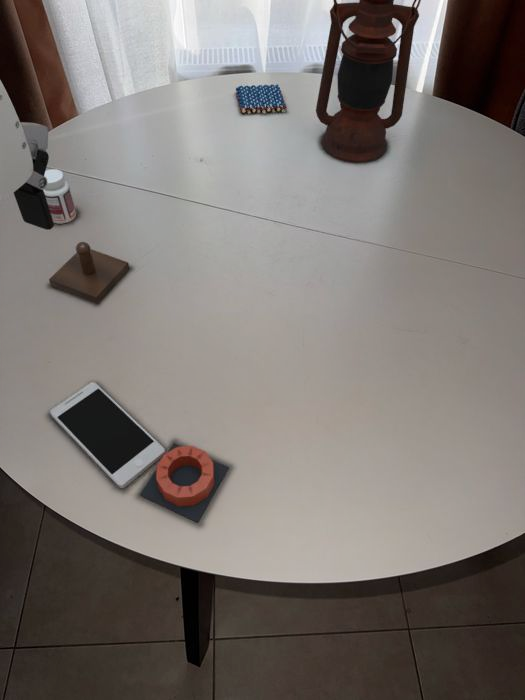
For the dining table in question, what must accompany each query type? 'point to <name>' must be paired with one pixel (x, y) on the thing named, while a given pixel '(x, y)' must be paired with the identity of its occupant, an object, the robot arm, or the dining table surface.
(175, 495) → the ring
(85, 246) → the ring holder
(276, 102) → the blue beaded mat
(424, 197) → the dining table surface
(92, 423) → the smartphone
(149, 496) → the coaster
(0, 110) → the robot arm
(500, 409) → the dining table surface
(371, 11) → the lantern
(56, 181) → the pill bottle
